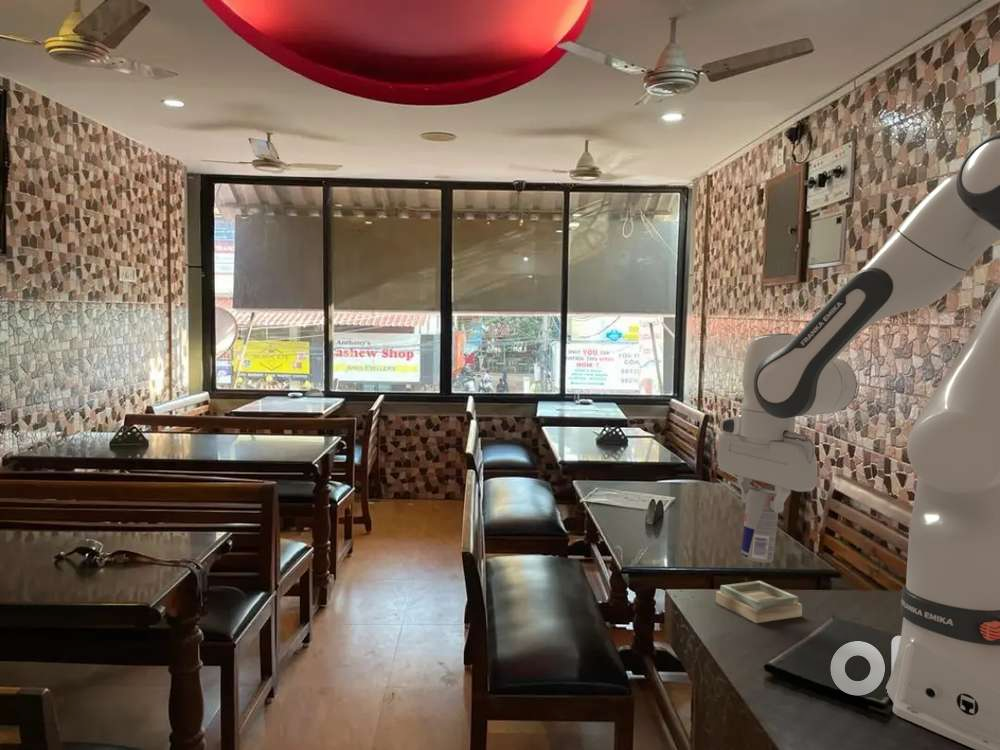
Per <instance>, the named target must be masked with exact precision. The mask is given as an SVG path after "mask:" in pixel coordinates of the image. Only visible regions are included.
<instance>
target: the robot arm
mask: <svg viewBox="0 0 1000 750" xmlns="http://www.w3.org/2000/svg"><path fill="white" fill-rule="evenodd" d="M999 241H1000V132H997V133H993V134H992V135H989V136H988V137H986V138H984V139H983V140H981V141H980V142H979V143H978V144H977V145H975V146H974V148H972V149H971V151H969V153H968V154H967V155H966V156H965V158H964V159H963V161H962V163H961V165H960V167H959V169H958V172H957V173H956V174H953V175H950V176H949V177H947V178H946V179H944V180H943V181H942V182H941V183H939V185H938V186H936V187H935V188H934V189H933V190H932V191H931V192H930V193H928V194H927V195H926V196H925V197H924V198H923V199H922V200H921V201H920V203H918V204H917V205H916V207H915V208H914V209H912V211H911V212H910V213H909V214H908V215H907V216H906V217H905V218H904V220H903V221H902V222H901V224H900V225H899V226H898V227H897V229H896V230H895V231H894V232H893V233H892V234H891V235H890V237H889V238H888V239H887V241H886V242H885V243H884V244H883V245H882V246H881V248H879V250H878V251H877V252H876V253H875V255H874V256H873V257H871V259H870V260H869V261H868V262H867V263H866V264H864V266H863V267H862V268H861V269H860V270H859V271H857V273H855V274H854V275H853V277H851V278H850V279H849V280H848V281H847V282H846V283H845V284H844V285H843V286H842V287H840V288H839V289H838V291H836V293H835V294H834V295H833V296H832V297H831V298H830V299H829V300H828V301H827V302H826V304H825V305H823V306H822V307H821V309H819V311H818V312H817V313H816V314H815V315H814V316H813V317H812V318H811V320H810V321H809V322H808V323H807V324H806V325H805V326H804V327H803V328H802V329H801V330H800V331H799V332H798V334H797V335H794V334H792V333H785V332H784V333H783V332H782V333H780V332H779V333H778V332H777V333H769V334H768V333H767V334H763V335H759V336H756V337H755V338H753V339H751V341H750V342H749V344H748V346H747V349H746V353H745V357H744V363H743V373H742V387H743V394H744V396H743V400H742V403H741V407H740V414H738V415H735V416H732V417H728V418H725V419H724V418H723V419H722V420H720V422H719V431H720V432H722V433H721V434H720V435H719V438H718V443H717V444H718V445H717V458H716V459H717V460H716V461H717V466H718V468H719V470H720V471H721V472H724V473H728V474H732V475H735V476H737V484H738V486H739V489H740V492H741V499H740V500H741V502H742V503H746V501H747V493H748V491H749V488H751V487H752V486H751V483H752V482H753V480H754V481H758V482H762V483H765V484H768V485H773V486H774V491H775V492H777V495H776V497H775V499H774V500H770V507H769V509H770V510H771V511H774V512H778V513H783V512H784V509H785V508H784V507H785V502H786V500H787V499H788V497H789V496H790V494H791V491H795V492H798V493H799V492H801V493H802V492H812V491H814V489H815V488H816V486H817V484H818V483H817V482H818V480H817V479H818V470H817V469H818V468H817V457H816V453H815V452H816V446H815V443H814V441H813V439H811V438H810V436H809V435H807V434H805V433H797V432H795V428H796V427H795V425H796V417H800V416H813V415H826V414H833V413H836V412H840V411H842V410H844V409H846V408H847V407H848V406H849V405H850V404H851V403H852V402H853V400H854V398H855V397H856V394H857V393H856V392H857V387H858V383H857V382H858V381H857V376H856V374H855V371H854V370H853V368H852V367H851V365H850V364H849V363H848V362H847V361H846V360H842V359H841V358H838V357H839V356H840V355H841V354H842V353H843V352H844V351H845V349H847V347H848V346H849V345H850V344H851V343H852V342H853V341H854V340H855V339H856V338H857V337H858V336H859V335H860V334H862V333H863V332H864V330H866V329H867V328H869V327H871V326H872V325H874V324H875V323H877V322H880V321H882V320H884V319H886V318H889V317H892V316H895V315H900V314H902V313H906V312H911V311H914V310H915V311H916V310H919V309H923V308H926V307H928V306H930V305H932V304H934V303H935V302H937V301H938V300H939V299H940V298H942V297H943V296H945V295H946V294H947V293H948V292H949V291H950V290H951V289H953V288H954V287H955V286H956V285H957V284H958V283H959V282H960V280H961V279H962V278H964V276H965V275H966V274H968V271H969V270H970V269H972V267H973V266H974V265H975V264H976V262H977V261H978V260H979V258H981V256H982V255H983V254H984V253H985V252H986V251H987V250H988V249H989V248H990V247H991V246H992V245H994V244H995V243H997V242H999ZM906 453H907V458H908V461H909V463H910V465H911V468H912V469H913V471H914V472H915V473H916V475H917V476H916V486H915V492H914V499H913V500H914V501H913V506H912V510H911V511H912V513H911V517H910V522H909V526H908V545H907V546H908V547H907V563H906V578H905V579H906V580H905V582H906V583H905V584H904V585H903V586H902V588H901V598H900V615H901V620H902V625H901V633H900V639H899V645H898V650H897V654H896V658H895V661H894V665H893V669H892V671H891V674H890V676H889V679H888V681H887V684H886V686H885V690H886V689H887V692H886V694H887V693H888V694H887V695H888V697H889V698H890V699H891V701H892V703H893V705H892V712H893V714H895V715H896V716H897V717H900V718H902V719H904V720H907V721H908V722H912V723H913V724H916V725H918V726H921V727H922V728H925V729H927V730H929V731H932V732H934V733H936V734H938V735H941V736H943V737H946V738H948V739H950V740H952V741H955V742H957V743H959V744H961V745H965V746H966V747H969V748H971V749H974V750H1000V286H998V287H997V289H996V291H995V293H994V295H993V296H992V298H991V300H990V301H989V303H988V305H987V306H986V308H985V309H984V312H983V313H982V315H981V316H980V318H979V320H978V322H977V324H976V326H975V327H974V329H973V330H972V332H971V334H970V336H969V337H968V339H967V341H966V342H965V344H964V346H963V348H962V349H961V350H960V352H959V353H958V355H956V357H955V359H954V361H953V362H952V364H951V365H950V367H949V369H948V370H947V371H946V372H945V374H944V376H943V377H942V378H941V380H940V382H939V383H938V385H937V386H936V388H935V389H934V391H933V393H931V395H930V397H929V398H928V401H927V402H926V404H925V405H924V407H923V408H922V409H921V412H920V413H919V415H918V416H917V418H916V419H915V421H914V422H913V424H912V426H911V428H910V429H909V433H908V436H907V440H906Z"/></svg>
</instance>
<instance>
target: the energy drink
mask: <svg viewBox="0 0 1000 750" xmlns="http://www.w3.org/2000/svg"><path fill="white" fill-rule="evenodd" d="M776 495H777V492H775V489H774V490H773V489H769V488H765V487H764V488H762V487H753V486H751V488H749V491H748V493H747V501H746V502H745V503H746V504H745V511H744V512H745V513H744V521H743V531H742V540H741V541H742V542H741V550H740V556H741V557H742V558H743V559H745V560H748V561H751V562H756V563H763V564H768V563H772V562H773V561H774V557H775V556H774V555H775V546H776V539H777V529H778V528H777V527H778V520H779V519H778V518H779V512H774V511H771V510H770V509H769V507H770V500H774V499H775V497H776Z"/></svg>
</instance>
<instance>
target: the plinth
mask: <svg viewBox="0 0 1000 750" xmlns="http://www.w3.org/2000/svg"><path fill="white" fill-rule="evenodd" d="M719 587H720V588H719V589H720V590H719V591H718V590H717V591H716V592H715V603H716V604H718V605H719V606H721V607H723V608H725V609H727V610H729V611H731V612H733V613H734V614H735V613H736V614H737V615H738V616H741V617H743V618H745V619H747V620H749V621H751V622H753V623H754V624H760V623H767V622H771V621H772V622H773V621H780V620H785V619H793V618H798V617H799V618H800V617H802V615H803V604H801V603H800V602H799V596H797V595H795V594H792V593H790V592H788V591H785V590H784V589H783V590H782V589H780V588H778V587H775V586H774V585H771V584H769V583H766V582H764V581H762V580H755V581H754V580H753V581H745V582H738V583H730V584H721V585H720V586H719Z"/></svg>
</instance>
